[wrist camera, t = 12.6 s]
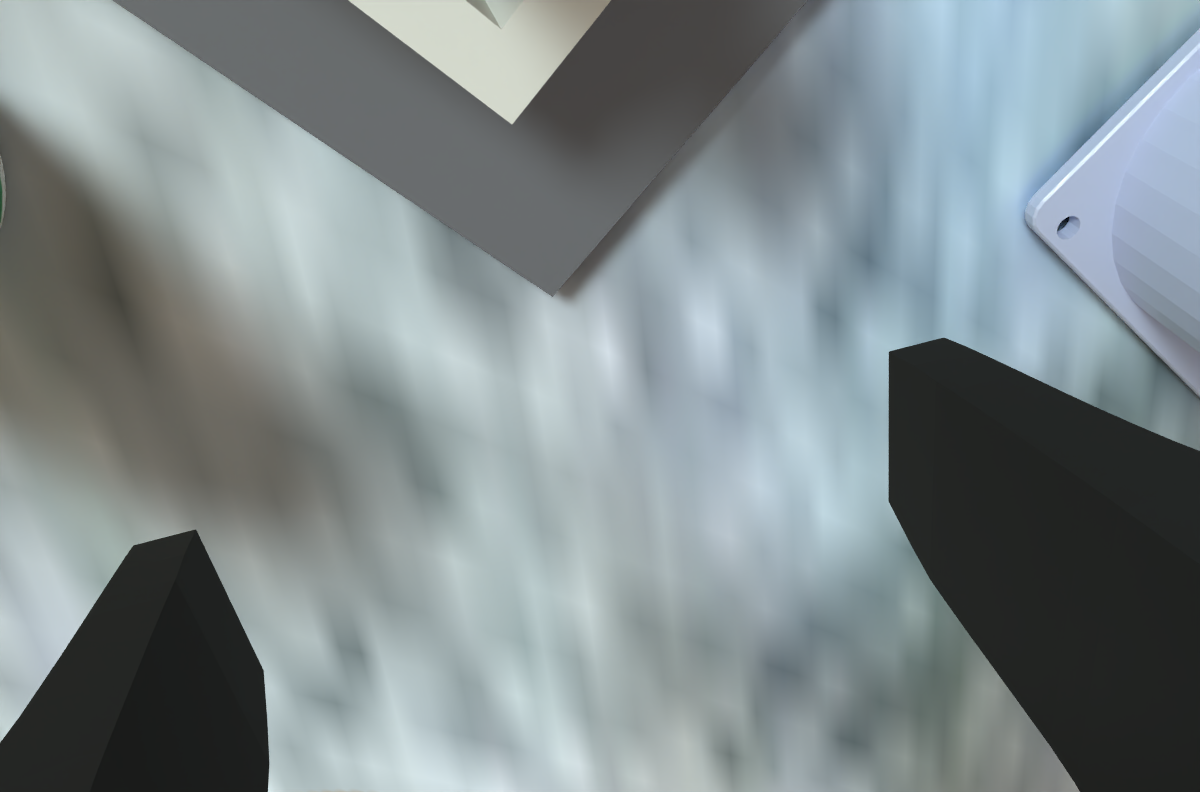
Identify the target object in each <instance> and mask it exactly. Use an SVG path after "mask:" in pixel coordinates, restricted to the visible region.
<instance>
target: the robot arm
mask: <svg viewBox="0 0 1200 792" xmlns="http://www.w3.org/2000/svg"><path fill="white" fill-rule="evenodd" d="M1067 217H1069V221H1068V223H1067V224H1066V226H1065V227H1064V228H1062V229H1061V230H1059V231H1057V228H1058V226H1059V224H1060V223H1061V221H1062V220H1064V219H1065V218H1067ZM1025 221H1026V222H1027V224H1028V226H1029V227H1030V228H1031V229H1032V230H1033V231H1034V232H1035V233H1036V234H1037V235H1038V236H1039V237H1040V238H1041V239H1042V240H1043V241H1044V242H1045V243H1046V244H1047V245H1048V246H1049V247H1050V248H1051V249H1052V250H1053V251H1054V252H1055V253H1056V254H1057V255H1058V256H1059V257H1060V258H1061V259H1062V260H1063V261H1064V262H1065V263H1066V264H1067V265H1068V266H1069V267H1070V268H1071V269H1072V270H1073V271H1074V272H1075V273H1076V274H1077V275H1078V276H1079V277H1080V278H1081V279H1082V280H1083V281H1084V282H1085V283H1086V284H1087V285H1088V286H1089V287H1090V288H1091V289H1092V290H1093V291H1094V292H1095V293H1096V294H1097V295H1098V296H1099V297H1100V298H1101V299H1102V300H1103V301H1104V302H1105V303H1106V304H1107V305H1108V306H1109V307H1110V308H1111V309H1112V310H1113V311H1114V312H1115V313H1116V314H1117V315H1118V316H1119V317H1120V318H1121V319H1122V320H1123V321H1124V322H1125V323H1126V324H1127V325H1128V326H1129V327H1130V328H1131V329H1132V330H1133V331H1134V332H1135V333H1136V334H1137V335H1138V336H1139V337H1140V338H1141V339H1142V340H1143V341H1144V342H1145V343H1146V344H1147V345H1148V346H1149V347H1150V348H1151V349H1152V350H1153V351H1154V352H1155V353H1156V354H1157V355H1158V356H1159V357H1160V358H1161V359H1162V360H1163V361H1164V362H1165V363H1166V364H1167V365H1168V366H1169V367H1170V368H1171V369H1172V370H1173V371H1174V372H1175V373H1176V374H1177V375H1178V376H1179V377H1180V378H1181V379H1182V380H1183V381H1184V382H1185V383H1186V384H1187V385H1188V386H1189V387H1190V388H1191V389H1192V390H1193V391H1194V392H1195V393H1196V394H1197V395H1198V396H1199V397H1200V29H1199V30H1198V31H1197V32H1196V33H1195V34H1194V35H1193V36H1192V37H1191V38H1190V39H1189V40H1188V41H1187V42H1186V43H1185V44H1184V45H1183V46H1182V47H1181V48H1180V49H1179V50H1178V51H1177V52H1176V53H1175V54H1174V55H1173V56H1172V57H1171V58H1170V59H1169V60H1168V61H1167V62H1166V63H1165V64H1164V65H1163V66H1162V67H1161V68H1160V69H1159V70H1158V71H1157V72H1156V73H1155V74H1154V75H1153V76H1152V77H1151V78H1150V79H1149V80H1148V81H1147V82H1146V83H1145V84H1144V85H1143V86H1142V87H1141V88H1140V89H1139V90H1138V91H1137V92H1136V93H1135V94H1134V95H1133V96H1132V97H1131V98H1130V99H1129V100H1128V101H1127V102H1126V103H1125V104H1124V105H1123V106H1122V107H1121V108H1120V109H1119V110H1118V111H1117V112H1116V113H1115V114H1114V115H1113V116H1112V117H1111V118H1110V119H1109V120H1108V121H1107V122H1106V123H1105V124H1104V125H1103V126H1102V127H1101V128H1100V129H1099V130H1098V131H1097V132H1096V133H1095V134H1094V135H1093V136H1092V137H1091V138H1090V139H1089V140H1088V141H1087V142H1086V143H1085V144H1084V145H1083V146H1082V147H1081V148H1080V149H1079V150H1078V151H1077V152H1076V153H1075V154H1074V155H1073V156H1072V157H1071V158H1070V159H1069V160H1068V161H1067V162H1066V163H1065V164H1064V165H1063V166H1062V167H1061V168H1060V169H1059V170H1058V171H1057V172H1056V173H1055V174H1054V175H1053V176H1052V177H1051V178H1050V179H1049V180H1048V181H1047V182H1046V183H1045V184H1044V185H1043V186H1042V187H1041V188H1040V189H1039V190H1038V191H1037V192H1036V193H1035V194H1034V195H1033V197H1032V198H1031V199H1030V201H1029V202H1028V204H1027V207H1026V210H1025ZM889 503H890V505H891V507H892V509H893V511H894V513H895V515H896V516H897V518H898V520H899V522H900V524H901V526H902V528H903V530H904V532H905V534H906V536H907V538H908V540H909V542H910V544H911V546H912V547H913V549H914V551H915V553H916V555H917V556H918V558H919V560H920V562H921V564H922V565H923V567H924V569H925V571H926V573H927V575H928V576H929V578H930V580H931V581H932V583H933V584H934V585H935V587H936V588H937V590H938V591H939V593H940V594H941V596H942V597H943V598H944V600H945V601H946V603H947V604H948V605H949V607H950V608H951V610H952V611H953V612H954V614H955V615H956V617H957V618H958V619H959V621H960V622H961V624H962V625H963V626H964V628H965V629H966V631H967V632H968V633H969V635H970V636H971V638H972V639H973V640H974V642H975V643H976V644H977V646H978V647H979V649H980V650H981V651H982V653H983V654H984V655H985V657H986V658H987V660H988V661H989V662H990V664H991V665H992V666H993V668H994V669H995V671H996V672H997V673H998V675H999V676H1000V677H1001V679H1002V680H1003V682H1004V683H1005V684H1006V686H1007V687H1008V688H1009V690H1010V691H1011V693H1012V694H1013V695H1014V697H1015V698H1016V699H1017V701H1018V702H1019V704H1020V705H1021V706H1022V708H1023V709H1024V710H1025V712H1026V713H1027V715H1028V716H1029V717H1030V719H1031V720H1032V721H1033V723H1034V724H1035V726H1036V727H1037V728H1038V730H1039V731H1040V732H1041V734H1042V735H1043V737H1044V738H1045V739H1046V741H1047V742H1048V743H1049V745H1050V746H1051V748H1052V749H1053V751H1054V752H1055V754H1056V755H1057V757H1058V758H1059V760H1060V761H1061V763H1062V764H1063V766H1064V767H1065V769H1066V770H1067V772H1068V773H1069V775H1070V776H1071V778H1072V779H1073V781H1074V782H1075V784H1076V786H1077V787H1078V789H1079V791H1080V792H1200V451H1198V450H1195V449H1193V448H1190V447H1188V446H1185V445H1183V444H1180V443H1177V442H1175V441H1172V440H1170V439H1168V438H1165V437H1163V436H1161V435H1158V434H1156V433H1153V432H1151V431H1149V430H1146V429H1144V428H1142V427H1139V426H1137V425H1135V424H1132V423H1130V422H1128V421H1126V420H1123V419H1121V418H1119V417H1117V416H1114V415H1112V414H1110V413H1108V412H1105V411H1103V410H1101V409H1099V408H1097V407H1094V406H1092V405H1090V404H1088V403H1086V402H1083V401H1081V400H1079V399H1077V398H1075V397H1073V396H1071V395H1068V394H1066V393H1064V392H1062V391H1060V390H1058V389H1056V388H1053V387H1051V386H1049V385H1047V384H1045V383H1043V382H1041V381H1039V380H1037V379H1034V378H1032V377H1030V376H1028V375H1026V374H1024V373H1022V372H1020V371H1017V370H1015V369H1013V368H1011V367H1009V366H1007V365H1005V364H1003V363H1001V362H998V361H996V360H994V359H992V358H990V357H988V356H986V355H983V354H981V353H979V352H977V351H975V350H972V349H970V348H968V347H966V346H963V345H961V344H958V343H956V342H954V341H951V340H949V339H946V338H940V339H936V340H933V341H929V342H925V343H921V344H917V345H913V346H909V347H905V348H901V349H897V350H894V351H890V352H889ZM268 777H269V748H268V727H267V712H266V698H265V684H264V671H263V669H262V666H261V664H260V662H259V660H258V658H257V656H256V654H255V652H254V650H253V648H252V646H251V643H250V641H249V639H248V637H247V635H246V633H245V631H244V629H243V627H242V625H241V623H240V620H239V618H238V616H237V614H236V612H235V610H234V608H233V606H232V604H231V602H230V600H229V597H228V595H227V593H226V591H225V589H224V587H223V585H222V583H221V581H220V579H219V577H218V574H217V572H216V570H215V568H214V566H213V564H212V562H211V560H210V558H209V556H208V554H207V551H206V549H205V547H204V545H203V543H202V541H201V539H200V537H199V535H198V533H197V531H196V530H192V531H188V532H184V533H180V534H177V535H173V536H169V537H165V538H161V539H157V540H153V541H149V542H145V543H141V544H138V545H134V546H133V547H132V548H131V550H130V551H129V553H128V554H127V556H126V557H125V559H124V560H123V561H122V563H121V564H120V566H119V567H118V569H117V571H116V572H115V574H114V575H113V577H112V578H111V580H110V581H109V583H108V584H107V586H106V587H105V589H104V591H103V592H102V594H101V595H100V597H99V598H98V600H97V601H96V603H95V604H94V606H93V607H92V609H91V610H90V612H89V614H88V615H87V617H86V618H85V620H84V621H83V623H82V624H81V626H80V627H79V629H78V630H77V632H76V634H75V635H74V637H73V638H72V640H71V641H70V643H69V644H68V646H67V647H66V649H65V650H64V652H63V653H62V655H61V657H60V658H59V660H58V661H57V662H56V664H55V665H54V667H53V668H52V670H51V671H50V673H49V674H48V676H47V677H46V679H45V680H44V682H43V683H42V685H41V686H40V688H39V689H38V691H37V692H36V693H35V695H34V696H33V698H32V699H31V701H30V702H29V704H28V705H27V707H26V708H25V710H24V711H23V713H22V714H21V716H20V717H19V718H18V720H17V721H16V722H15V724H14V725H13V726H12V728H11V729H10V730H9V732H8V733H7V734H6V736H5V737H4V739H3V740H2V741H1V743H0V792H268Z"/></svg>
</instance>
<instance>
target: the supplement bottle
mask: <svg viewBox="0 0 1200 792" xmlns="http://www.w3.org/2000/svg"><path fill="white" fill-rule="evenodd" d="M5 206H6V185H5V174H4V169H3V163H2V159H1V156H0V228H1V225H2V222H3V217H4V211H5Z"/></svg>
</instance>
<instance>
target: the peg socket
mask: <svg viewBox="0 0 1200 792" xmlns="http://www.w3.org/2000/svg"><path fill="white" fill-rule="evenodd" d="M113 1H114V2H116V3H117V4H119V5H120V6H122V7H123V8H125V9H126V10H128V11H129V12H131V13H132V14H134V15H135V16H137V17H138V18H140V19H141V20H143V21H144V22H146V23H147V24H149V25H150V26H152V27H153V28H155V29H156V30H157V31H159V32H160V33H162V34H163V35H165V36H166V37H168V38H169V39H171V40H172V41H174V42H175V43H177V44H178V45H180V46H181V47H183V48H184V49H186V50H187V51H189V52H190V53H192V54H193V55H195V56H196V57H198V58H199V59H200V60H202V61H203V62H205V63H206V64H208V65H209V66H211V67H212V68H214V69H215V70H217V71H218V72H220V73H221V74H223V75H224V76H226V77H227V78H229V79H230V80H232V81H233V82H235V83H236V84H238V85H239V86H241V87H242V88H244V89H245V90H246V91H248V92H249V93H251V94H252V95H254V96H255V97H257V98H258V99H260V100H261V101H263V102H264V103H266V104H267V105H269V106H270V107H272V108H273V109H275V110H276V111H278V112H279V113H281V114H282V115H284V116H285V117H287V118H288V119H289V120H291V121H292V122H294V123H295V124H297V125H298V126H300V127H301V128H303V129H304V130H306V131H307V132H309V133H310V134H312V135H313V136H315V137H316V138H318V139H319V140H321V141H322V142H324V143H325V144H327V145H328V146H330V147H331V148H333V149H334V150H335V151H337V152H338V153H340V154H341V155H343V156H344V157H346V158H347V159H349V160H350V161H352V162H353V163H355V164H356V165H358V166H359V167H361V168H362V169H364V170H365V171H367V172H368V173H370V174H371V175H373V176H374V177H376V178H377V179H378V180H380V181H381V182H383V183H384V184H386V185H387V186H389V187H390V188H392V189H393V190H395V191H396V192H398V193H399V194H401V195H402V196H404V197H405V198H407V199H408V200H410V201H411V202H413V203H414V204H416V205H417V206H419V207H420V208H422V209H423V210H424V211H426V212H427V213H429V214H430V215H432V216H433V217H435V218H436V219H438V220H439V221H441V222H442V223H444V224H445V225H447V226H448V227H450V228H451V229H453V230H454V231H456V232H457V233H459V234H460V235H462V236H463V237H465V238H466V239H467V240H469V241H470V242H472V243H473V244H475V245H476V246H478V247H479V248H481V249H482V250H484V251H485V252H487V253H488V254H490V255H491V256H493V257H494V258H496V259H497V260H499V261H500V262H502V263H503V264H505V265H506V266H508V267H509V268H511V269H512V270H513V271H515V272H516V273H518V274H519V275H521V276H522V277H524V278H525V279H527V280H528V281H530V282H531V283H533V284H534V285H536V286H537V287H539V288H540V289H542V290H543V291H545V292H546V293H548V294H549V295H551V296H552V297H553V296H554V295H555V293H556V292H557V291H558V290H559V289H560V288H561V286H562V285H563V284H564V283H565V282H566V281H567V279H568V278H569V277H570V276H571V275H572V274H573V272H574V271H575V270H576V269H577V268H578V267H579V266H580V264H581V263H582V262H583V261H584V260H585V259H586V257H587V256H588V255H589V254H590V253H591V252H592V250H593V249H594V248H595V247H596V246H597V245H598V243H599V242H600V241H601V240H602V239H603V238H604V236H605V235H606V234H607V233H608V232H609V231H610V230H611V228H612V227H613V226H614V225H615V224H616V223H617V221H618V220H619V219H620V218H621V217H622V216H623V214H624V213H625V212H626V211H627V210H628V209H629V207H630V206H631V205H632V204H633V203H634V202H635V200H636V199H637V198H638V197H639V196H640V195H641V193H642V192H643V191H644V190H645V189H646V188H647V187H648V185H649V184H650V183H651V182H652V181H653V180H654V178H655V177H656V176H657V175H658V174H659V173H660V171H661V170H662V169H663V168H664V167H665V166H666V164H667V163H668V162H669V161H670V160H671V159H672V157H673V156H674V155H675V154H676V153H677V152H678V150H679V149H680V148H681V147H682V146H683V145H684V144H685V142H686V141H687V140H688V139H689V138H690V137H691V135H692V134H693V133H694V132H695V131H696V130H697V128H698V127H699V126H700V125H701V124H702V123H703V121H704V120H705V119H706V118H707V117H708V116H709V114H710V113H711V112H712V111H713V110H714V109H715V108H716V106H717V105H718V104H719V103H720V102H721V101H722V99H723V98H724V97H725V96H726V95H727V94H728V92H729V91H730V90H731V89H732V88H733V87H734V85H735V84H736V83H737V82H738V81H739V80H740V78H741V77H742V76H743V75H744V74H745V73H746V71H747V70H748V69H749V68H750V67H751V66H752V65H753V63H754V62H755V61H756V60H757V59H758V58H759V56H760V55H761V54H762V53H763V52H764V51H765V49H766V48H767V47H768V46H769V45H770V44H771V42H772V41H773V40H774V39H775V38H776V37H777V35H778V34H779V33H780V32H781V31H782V30H783V28H784V27H785V26H786V25H787V24H788V23H789V22H790V20H791V19H792V18H793V17H794V16H795V15H796V13H797V12H798V11H799V10H800V9H801V8H802V6H803V5H804V4H805V3H806V2H807V1H808V0H113Z"/></svg>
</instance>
